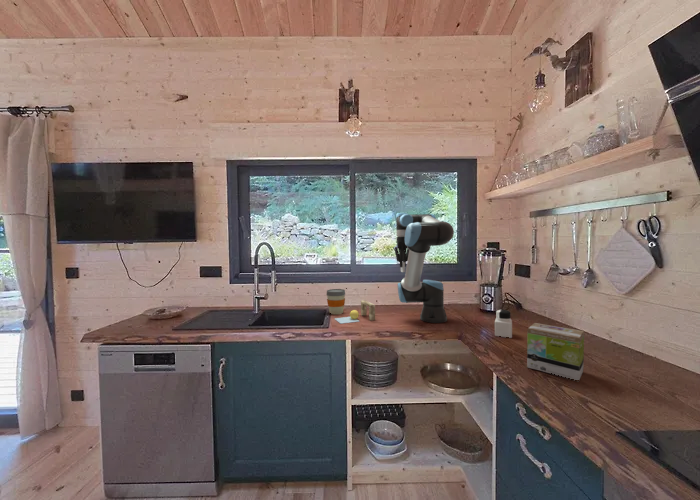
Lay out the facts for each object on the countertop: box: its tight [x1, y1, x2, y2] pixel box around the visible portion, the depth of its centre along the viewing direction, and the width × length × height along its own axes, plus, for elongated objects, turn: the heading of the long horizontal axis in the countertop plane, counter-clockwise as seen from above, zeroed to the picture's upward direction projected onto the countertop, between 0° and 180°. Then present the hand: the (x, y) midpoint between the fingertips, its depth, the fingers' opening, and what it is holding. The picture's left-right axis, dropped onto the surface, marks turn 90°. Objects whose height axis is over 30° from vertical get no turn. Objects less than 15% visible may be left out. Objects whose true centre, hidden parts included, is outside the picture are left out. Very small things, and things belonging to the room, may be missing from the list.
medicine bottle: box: [494, 309, 513, 339], centre depth 139 cm, size 7×7×12 cm
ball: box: [349, 309, 360, 320], centre depth 173 cm, size 6×6×6 cm
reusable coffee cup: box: [326, 288, 346, 315], centre depth 190 cm, size 13×13×15 cm
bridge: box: [360, 300, 376, 321], centre depth 177 cm, size 3×14×9 cm, turn 21°
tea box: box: [526, 322, 585, 381], centre depth 100 cm, size 15×10×15 cm, turn 45°
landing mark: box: [333, 316, 360, 325], centre depth 172 cm, size 12×12×1 cm
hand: (402, 271), depth 190 cm, fingers closed
